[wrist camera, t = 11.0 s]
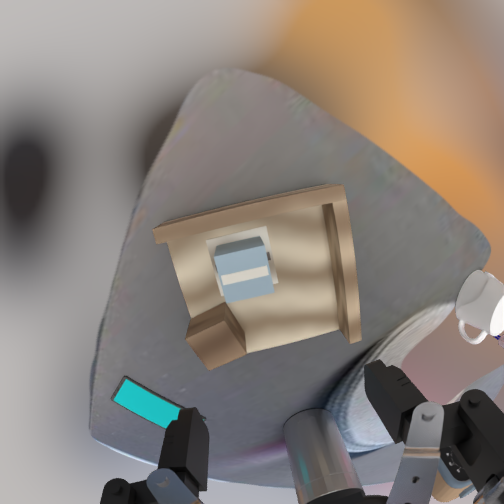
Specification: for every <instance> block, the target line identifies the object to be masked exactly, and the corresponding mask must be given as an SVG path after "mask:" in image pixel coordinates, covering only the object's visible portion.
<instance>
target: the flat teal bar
mask: <svg viewBox="0 0 504 504" xmlns="http://www.w3.org/2000/svg"><path fill="white" fill-rule="evenodd" d="M111 400H112V401H114V402H115V403H117V404H119V405H120V406H122V407H124V408H126V409H127V410H129V411H131V412H133V413H135V414H136V415H138V416H140V417H142V418H144V419H146V420H148V421H150V422H152V423H154V424H156V425H158V426H160V427H162V428H164V429H166V428H167V426H168V425H169V424H170V422H171V421H172V420H177V419H178V414H179V410H180V409H186V408H184V407H182V406H180V405H178V404H176V403H174V402H172V401H170V400H169V399H167V398H165V397H163V396H161V395H159V394H157V393H155V392H154V391H152V390H150V389H148V388H146V387H145V386H143V385H141V384H140V383H138V382H136V381H134V380H133V379H131V378H129V377H128V376H124V377H123V379H122V381H121V382H120V384H119V386H118V387H117V389H116V391H115V392H114V394H113V396H112V397H111ZM201 417H202V419H203V421H205V420H206V418H205V417H204V416H202V415H201Z"/></svg>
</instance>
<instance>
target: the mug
mask: <svg viewBox="0 0 504 504" xmlns="http://www.w3.org/2000/svg"><path fill="white" fill-rule="evenodd" d="M455 312H456V317H457V318H458V319H459V325H458V328H459V332H460V334H461V336H462V337H463V338H464V339H465V340H466V341H467V342H469V343H471V344H478V343H480V342H481V341H482V340H483V339H484V338H485V337H486V335H487V334H490V335H492V336H497V335H499V334H500V333H501V332H503V330H504V284H503V283H502V282H500V281H499V280H497V279H496V278H495V277H494V276H493V275H492V274H490V273H488V272H486V271H485V273H484V272H483V271H481V270H476V271H474V272H472V273H471V274H470V275H469V276H468V278H467V279H466V281H465V282H464V284H463V285H462V287H461V289H460V292H459V294H458V297H457V301H456V306H455ZM465 323H467V324H470V325H472V326H474V327H476V328H478V329H480V330H482V331H481V333H480V334H479V335H478V336H477V337H476V338H474V339H471V338H469V337H468V336H467V334H466V332H465V329H464V326H465Z"/></svg>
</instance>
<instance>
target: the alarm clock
mask: <svg viewBox="0 0 504 504" xmlns="http://www.w3.org/2000/svg"><path fill="white" fill-rule="evenodd" d="M439 451H440V460H439V465H438V470H437V474H436V479H435V483H434V487H433V491H432V496H433V497H434V498H435V499H436V500H437V501H440V502H449V501H451V500H453V499H456V498H457V497H459V496H460V498H463V497H464V496H466V495H468V494H469V493H471V492H472V491H474V490H475V489H476V488H475V487H474V485H473V483H472V482H471V480H470V478H469V477H468V475H467V473H466V472H465V470H464V468H463V467H462V465H461V463H460V462H459V460H458V459H457V457H456V455H455V454H454V452H453V451H452V449H451V447H450V446H448V447H445V448H441V449H439Z"/></svg>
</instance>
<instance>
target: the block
mask: <svg viewBox="0 0 504 504" xmlns="http://www.w3.org/2000/svg"><path fill="white" fill-rule="evenodd" d="M214 260H215V264H216V267H217V271H218V275H219V279H220V282H221V286H222V290H223V293H224V297H225V300H226V303H231V302H235V301H240V300H244V299H249V298H253V297H258V296H262V295H266V294H271V293H275V292H274V287H273V282H272V277H271V273H270V268H269V263H268V258H267V254H266V249H265V245H264V243H263V241H262V239H261V237H260V236H256V237H252V238H248V239H243V240H239V241H235V242H230V243H226V244H222V245H217V246H216V250H215V254H214Z"/></svg>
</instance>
